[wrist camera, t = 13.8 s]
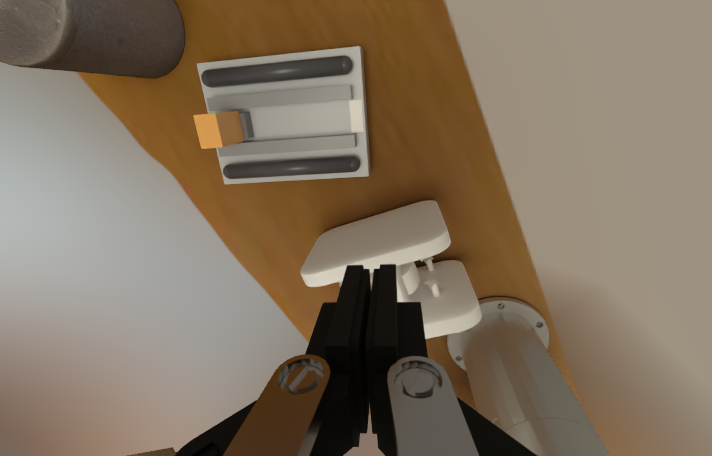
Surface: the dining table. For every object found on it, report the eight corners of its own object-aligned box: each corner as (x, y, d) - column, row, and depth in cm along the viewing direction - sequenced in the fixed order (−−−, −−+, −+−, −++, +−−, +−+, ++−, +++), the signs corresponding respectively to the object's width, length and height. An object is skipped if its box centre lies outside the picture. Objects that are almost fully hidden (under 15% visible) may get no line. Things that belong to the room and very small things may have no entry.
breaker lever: (254, 138, 34) (228, 146, 29) (227, 140, 34) (196, 149, 29) (249, 110, 33) (220, 112, 28) (220, 112, 33) (187, 115, 28)
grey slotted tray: (370, 170, 37) (367, 179, 33) (236, 178, 39) (217, 188, 35) (362, 50, 33) (358, 43, 28) (212, 66, 35) (186, 62, 30)
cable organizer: (441, 191, 37) (460, 230, 26) (463, 270, 40) (488, 333, 30) (320, 228, 40) (293, 277, 30) (350, 298, 44) (336, 364, 33)
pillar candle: (138, 95, 37) (-15, 94, 23) (76, 4, 34) (-142, -60, 20) (205, 48, 34) (79, 15, 20) (144, -53, 31) (-49, -172, 18)
